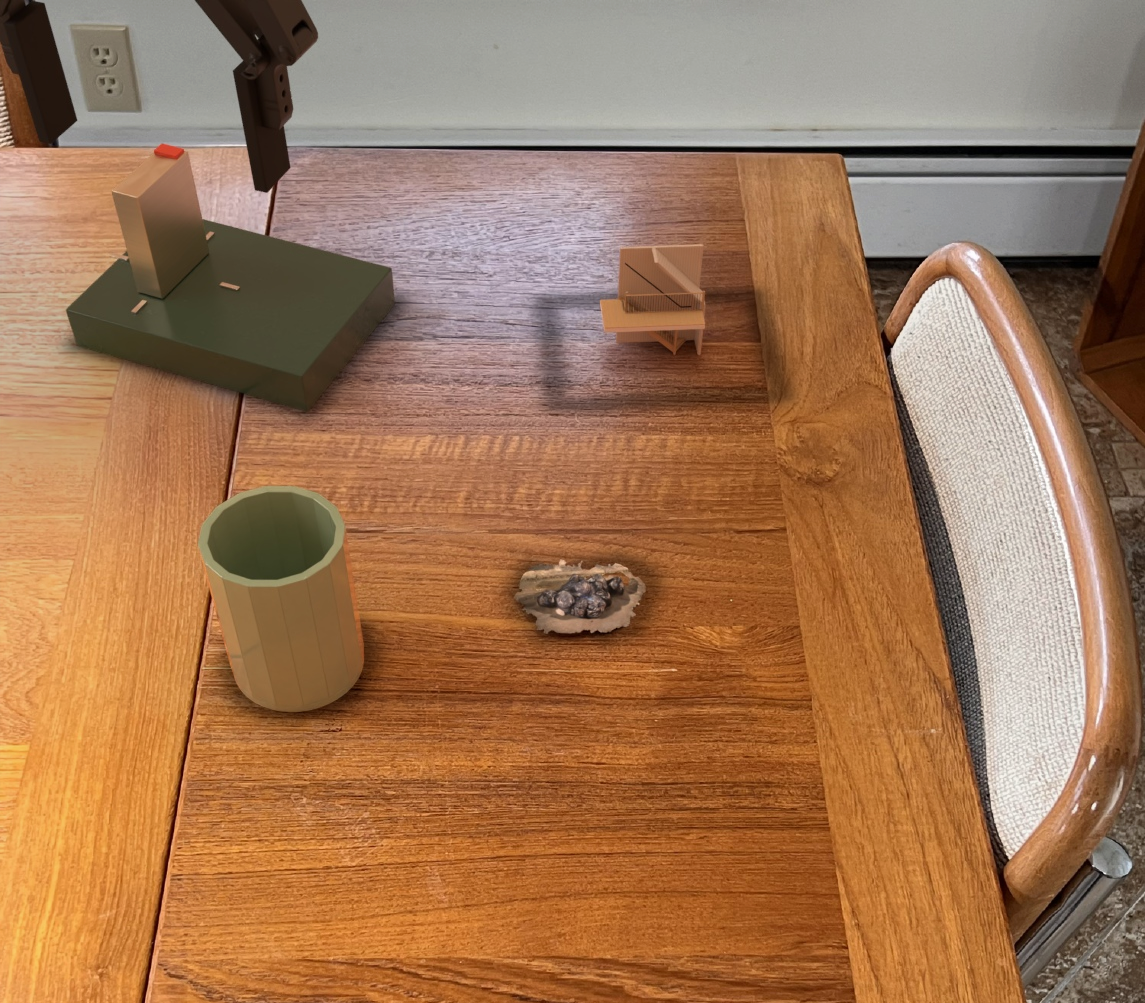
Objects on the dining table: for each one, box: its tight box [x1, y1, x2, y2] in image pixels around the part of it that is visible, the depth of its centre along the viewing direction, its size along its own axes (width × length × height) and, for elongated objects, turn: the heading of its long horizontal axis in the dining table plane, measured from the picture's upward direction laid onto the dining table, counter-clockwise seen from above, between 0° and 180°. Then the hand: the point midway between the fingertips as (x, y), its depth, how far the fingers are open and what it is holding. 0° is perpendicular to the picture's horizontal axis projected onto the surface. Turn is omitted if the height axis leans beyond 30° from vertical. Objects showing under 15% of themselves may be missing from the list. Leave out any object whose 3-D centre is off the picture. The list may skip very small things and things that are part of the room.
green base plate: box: [65, 218, 396, 413], centre depth 98 cm, size 19×13×3 cm
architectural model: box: [599, 243, 707, 356], centre depth 95 cm, size 3×7×7 cm, turn 95°
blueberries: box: [513, 559, 647, 634], centre depth 83 cm, size 7×8×2 cm
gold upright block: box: [111, 142, 209, 299], centre depth 95 cm, size 6×2×8 cm, turn 157°
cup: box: [197, 485, 365, 713], centre depth 77 cm, size 7×7×10 cm
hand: (164, 155), depth 79 cm, fingers open, 13 cm apart
